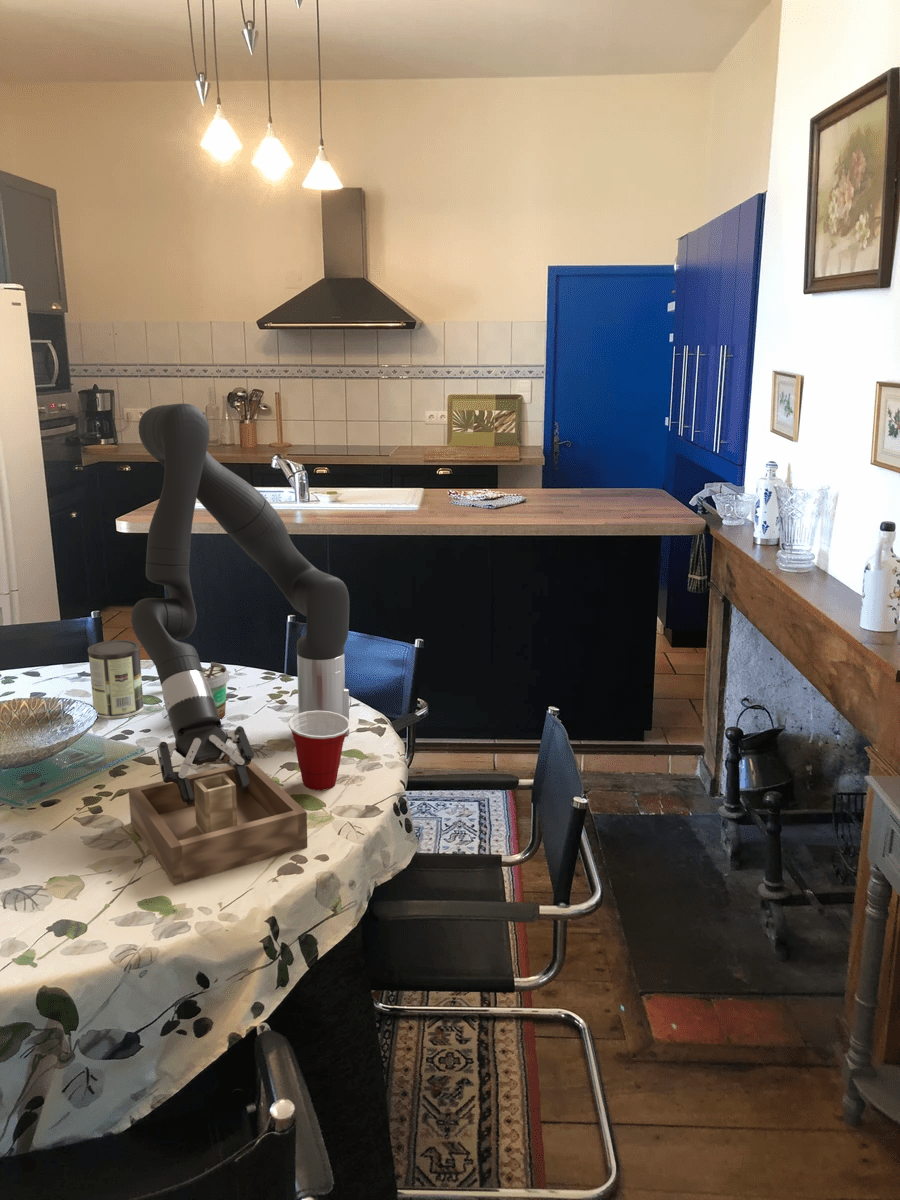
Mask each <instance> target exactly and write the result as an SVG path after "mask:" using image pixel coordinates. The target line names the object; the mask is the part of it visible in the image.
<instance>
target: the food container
mask: <svg viewBox="0 0 900 1200" xmlns="http://www.w3.org/2000/svg"><path fill="white" fill-rule="evenodd" d="M203 673H204V675H205V678H206V680H207V682H208V684H209V686H210V689H211V693H212V696H213V699H214V702H215V705H216V708H217V711H218V715H219V718H220V719H221V720H223V719H224V718H225V717H224V716H226V704H227V703H226V702H227V683H228V682H229V681H230V679H231V678H230V674H229V673H230V672H229V670H228V669H227V667H226V666H225V665H224V664H221V663H218V662H212V661H211V662H210V667H208V668H207V669H206V670H203ZM223 717H224V718H223ZM222 718H223V719H222Z"/></svg>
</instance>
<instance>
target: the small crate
mask: <svg viewBox="0 0 900 1200" xmlns="http://www.w3.org/2000/svg"><path fill="white" fill-rule="evenodd" d="M194 795H195V813H196V827H197V828H198V829H199V830H200V832H201V833H202V834H207V833H210V832H214V831H218V830H222V829H226V828H229V827H233V826H237V802H236V785H235V784H234V783H233V782H232V781H231V779H230V778H229V777H228V776H227V775H226V774H225V773H222V774H218V775H214V776H209V777H205V778H201V779H196V780H194Z"/></svg>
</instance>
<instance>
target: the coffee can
mask: <svg viewBox="0 0 900 1200" xmlns="http://www.w3.org/2000/svg"><path fill="white" fill-rule="evenodd" d="M140 649H141V643H140V642H137V641H134V640H129V639H112V640H105V641H101V642H96V643H95V644H92V645H90V646H89V647H88V648H87V653H88V661H89V663H88V664H89V672H90V683H91V692H92V693H91V694H92V695H91V696H92V706H93V708H94V707H95V708H96V710H97V712H98V715H99V717H98V718H99V719H109V720H118V719H126V718H130V717H133V716H136V715H139V714H140V713H142V712H143V711H144V709H145V705H144V694H143V693H144V692H143V681H142V666H141V653H140V652H141V651H140Z"/></svg>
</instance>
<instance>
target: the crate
mask: <svg viewBox="0 0 900 1200" xmlns="http://www.w3.org/2000/svg"><path fill="white" fill-rule="evenodd" d="M245 768H246V771H247V775H248V778H249V785H248V787H247V790H246V791H245V792H242V793H241V792H240V790H239V787H238V784H237V781H236V777H235V774H234V771H235V770H234V769H233V768H232V767H230V766H229V765H226V766H223V767H218V768H215V769H210V770H205V771H201V772H197V773H193V774H187V775H186V778H189V781H190V785H191V788H192V792H193V795H194V780H196V779H201V778H205V777H209V776H214V775H218V774H222V773H225V774H226V775H227V776H228V777H229V778H230V779H231V781H232V782H233V783H234V784H235V785H236V802H237V826H233V827H229V828H226V829H222V830H218V831H214V832H210V833H207V834H202V833H201V832H200V830H199V829H198V828H197V827H196V813H195V801H194V803H193V804H192V805H187V802H183V801H182V798H181V795H180V791H179V788H178V785H177V784H176V783H174V782H169V783H165V782H164V781H163V780H162V781H158V782H153V783H149V784H145V785H140V786H135V787H131V788H128V789H127V790H128V800H129V815H130V824H131V825H132V826H133V828H134V829H135V831H136V832H137V834H138V836H140V839H141V840H142V841H143V842H144V844H145V846H146V847H147V849H148V850H149V851H150V853H151V854H152V856H153V858H154V859H155V860H156V862H157V863H158V865H159V866H160V868H161V869H162V871H163V872H164V873H165V875H166V876H167V878H168V879H169V881H170V882H171V884H172V885H173V886H178V885H181V884H185V883H188V882H191V881H195V880H198V879H201V878H205V877H209V876H211V875H216V874H219V873H223V872H226V871H229V870H234V869H236V868H240V867H244V866H246V865H251V864H254V863H257V862H260V861H265V860H268V859H271V858H274V857H279V856H282V855H285V854H289V853H292V852H295V851H298V850H302V849H303V850H304V849H306V848H308V813H307V811H306V810H305V809H304V808H303V807H302V806H301V805H300V804H299V803H298V802H297V801H296V800H295V799H294V798H292V797H291V796H290V795H289V794H288V793H287V792H286V791H285V790H284V789H283V787H281V786H279V785H278V783H277V782H275V781H274V780H273V779H272V778H271V777H270V776H269V775H268V774H267V773H266V772H265V771H264V770H263V769H261V768H260V767H259V766H258V765H257V764H256V763H255V762H254V761H253V760H251V762H250V764H249V765H246V766H245ZM194 799H195V795H194Z"/></svg>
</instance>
